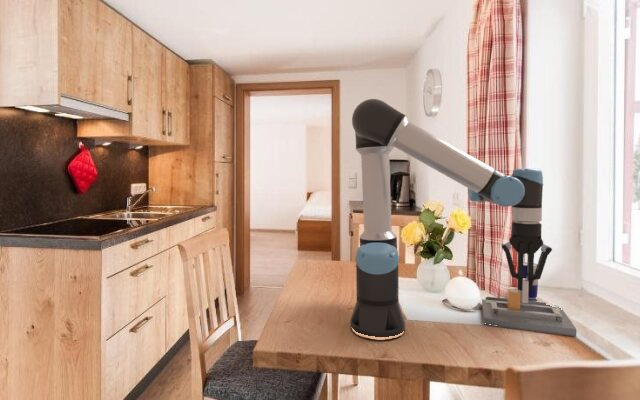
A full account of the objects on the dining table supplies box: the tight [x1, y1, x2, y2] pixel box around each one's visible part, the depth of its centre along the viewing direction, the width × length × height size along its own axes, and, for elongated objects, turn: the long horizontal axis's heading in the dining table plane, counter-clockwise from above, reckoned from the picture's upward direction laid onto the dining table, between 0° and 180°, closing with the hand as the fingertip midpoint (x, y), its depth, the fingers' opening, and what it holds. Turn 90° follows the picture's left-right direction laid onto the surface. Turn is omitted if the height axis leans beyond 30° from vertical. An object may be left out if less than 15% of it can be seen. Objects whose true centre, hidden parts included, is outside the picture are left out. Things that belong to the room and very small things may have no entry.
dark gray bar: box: [485, 299, 550, 306], centre depth 115 cm, size 2×22×2 cm, turn 68°
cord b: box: [484, 296, 547, 305], centre depth 117 cm, size 1×19×1 cm, turn 68°
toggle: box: [506, 286, 521, 310], centre depth 106 cm, size 4×3×7 cm
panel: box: [481, 299, 577, 337], centre depth 105 cm, size 16×22×4 cm
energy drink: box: [519, 261, 539, 302], centre depth 122 cm, size 5×5×12 cm
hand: (524, 301), depth 105 cm, fingers closed
